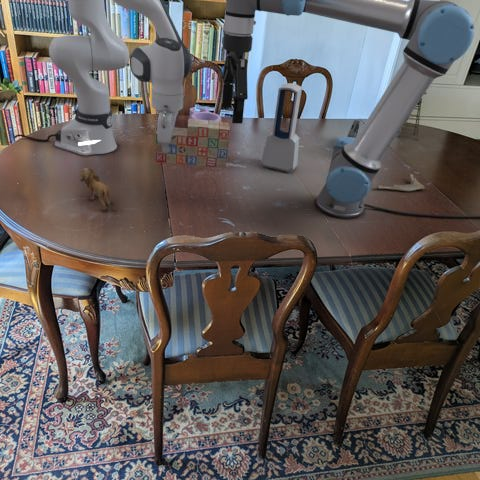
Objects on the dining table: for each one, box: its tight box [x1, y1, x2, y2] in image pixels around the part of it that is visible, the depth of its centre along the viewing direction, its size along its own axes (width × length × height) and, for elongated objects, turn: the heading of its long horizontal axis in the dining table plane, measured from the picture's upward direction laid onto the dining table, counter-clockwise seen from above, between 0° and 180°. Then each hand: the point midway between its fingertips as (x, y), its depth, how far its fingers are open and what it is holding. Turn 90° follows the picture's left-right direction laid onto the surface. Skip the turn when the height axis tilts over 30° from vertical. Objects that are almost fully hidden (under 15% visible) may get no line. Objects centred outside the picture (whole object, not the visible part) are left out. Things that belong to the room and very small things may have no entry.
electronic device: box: [260, 82, 303, 173], centre depth 167 cm, size 12×8×30 cm, turn 71°
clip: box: [188, 106, 222, 122], centre depth 199 cm, size 20×12×7 cm, turn 23°
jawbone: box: [376, 173, 426, 193], centre depth 169 cm, size 9×20×2 cm, turn 126°
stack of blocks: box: [155, 118, 231, 169], centre depth 140 cm, size 21×6×12 cm, turn 92°
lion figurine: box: [77, 167, 116, 211], centre depth 139 cm, size 15×5×9 cm, turn 50°
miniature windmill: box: [398, 91, 428, 140], centre depth 212 cm, size 9×8×30 cm
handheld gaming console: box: [346, 119, 361, 138], centre depth 194 cm, size 23×3×10 cm, turn 161°
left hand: (166, 146), depth 140 cm, fingers closed on stack of blocks, 6 cm apart
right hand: (231, 114), depth 132 cm, fingers open, 13 cm apart
